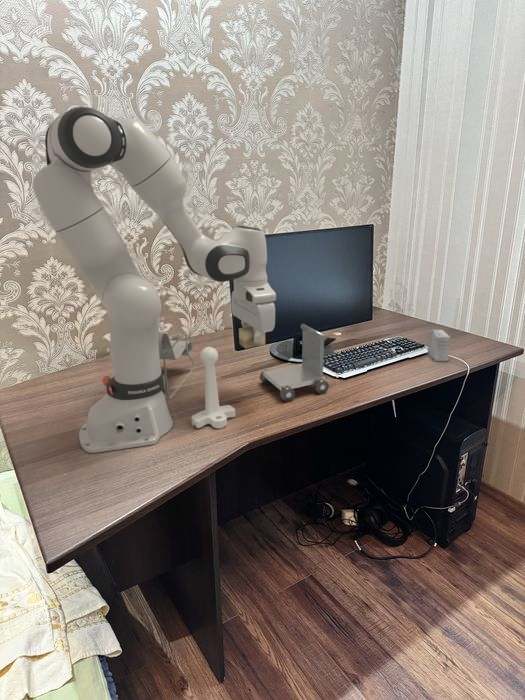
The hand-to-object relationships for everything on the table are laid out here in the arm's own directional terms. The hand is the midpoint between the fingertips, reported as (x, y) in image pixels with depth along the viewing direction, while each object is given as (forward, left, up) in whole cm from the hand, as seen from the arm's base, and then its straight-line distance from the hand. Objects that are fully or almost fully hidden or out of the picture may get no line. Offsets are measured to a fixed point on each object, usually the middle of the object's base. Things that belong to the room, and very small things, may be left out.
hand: (252, 338), depth 127 cm
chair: (-22, +21, -18) cm, 35 cm away
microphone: (+38, +25, -18) cm, 49 cm away
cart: (+12, -1, -17) cm, 21 cm away
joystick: (-15, -10, -17) cm, 25 cm away
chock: (0, 0, -2) cm, 2 cm away
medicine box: (+68, -2, -17) cm, 70 cm away
